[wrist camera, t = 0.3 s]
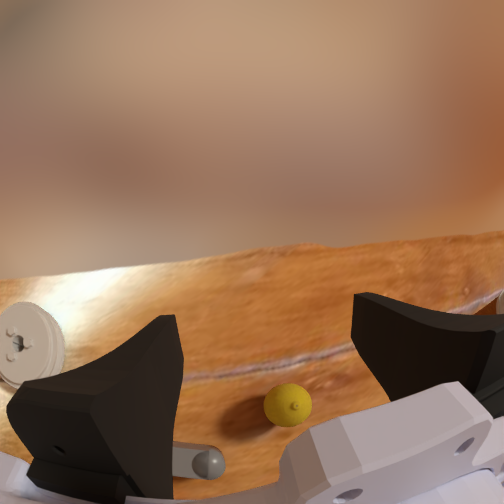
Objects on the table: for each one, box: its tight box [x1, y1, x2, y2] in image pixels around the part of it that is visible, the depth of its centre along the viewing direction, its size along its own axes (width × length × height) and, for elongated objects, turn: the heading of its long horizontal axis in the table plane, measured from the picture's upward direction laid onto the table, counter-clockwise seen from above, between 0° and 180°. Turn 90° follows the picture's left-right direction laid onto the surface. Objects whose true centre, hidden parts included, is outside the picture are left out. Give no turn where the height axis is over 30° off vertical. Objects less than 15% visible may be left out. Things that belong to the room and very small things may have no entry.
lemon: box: [264, 383, 312, 427], centre depth 32 cm, size 6×6×8 cm
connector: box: [172, 441, 225, 480], centre depth 29 cm, size 4×10×4 cm, turn 87°
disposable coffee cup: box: [474, 290, 504, 315], centre depth 39 cm, size 10×10×12 cm
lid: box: [0, 302, 65, 389], centre depth 31 cm, size 13×13×5 cm
